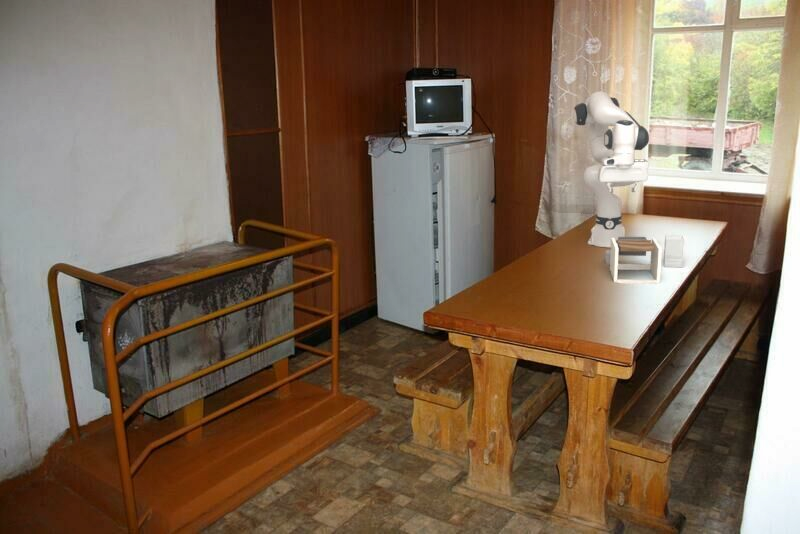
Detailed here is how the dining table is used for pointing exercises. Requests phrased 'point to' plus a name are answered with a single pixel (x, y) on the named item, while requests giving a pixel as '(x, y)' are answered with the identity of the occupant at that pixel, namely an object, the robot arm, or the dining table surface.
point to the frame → (653, 266)
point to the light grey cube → (608, 256)
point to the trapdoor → (634, 246)
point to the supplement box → (673, 250)
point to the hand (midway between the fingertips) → (622, 192)
